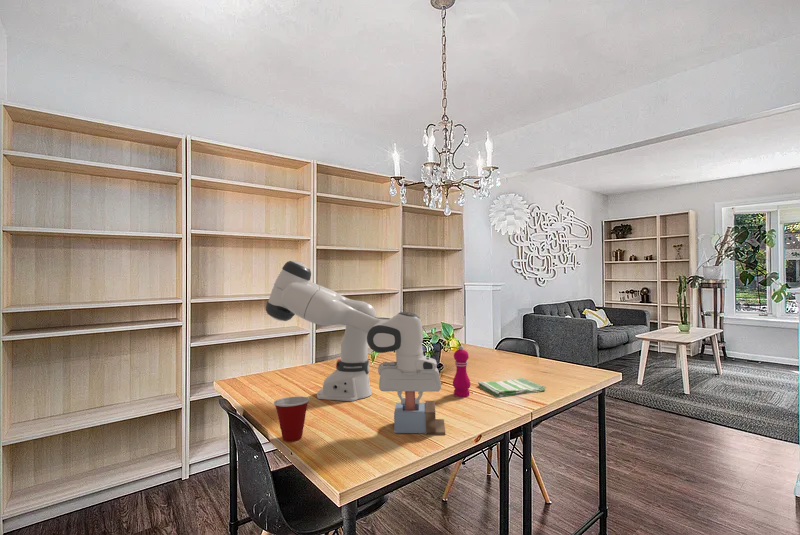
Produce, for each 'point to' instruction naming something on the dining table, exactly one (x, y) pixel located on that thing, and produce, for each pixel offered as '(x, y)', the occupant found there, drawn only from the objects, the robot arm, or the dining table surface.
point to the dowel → (409, 400)
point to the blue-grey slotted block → (410, 419)
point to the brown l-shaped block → (433, 421)
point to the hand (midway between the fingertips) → (410, 404)
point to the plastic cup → (291, 416)
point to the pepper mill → (461, 373)
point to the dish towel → (511, 387)
